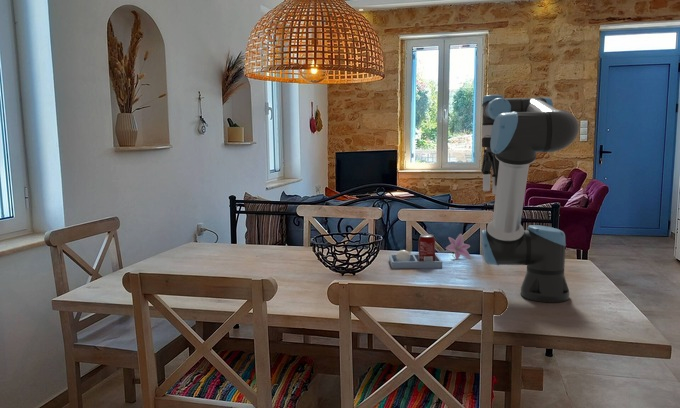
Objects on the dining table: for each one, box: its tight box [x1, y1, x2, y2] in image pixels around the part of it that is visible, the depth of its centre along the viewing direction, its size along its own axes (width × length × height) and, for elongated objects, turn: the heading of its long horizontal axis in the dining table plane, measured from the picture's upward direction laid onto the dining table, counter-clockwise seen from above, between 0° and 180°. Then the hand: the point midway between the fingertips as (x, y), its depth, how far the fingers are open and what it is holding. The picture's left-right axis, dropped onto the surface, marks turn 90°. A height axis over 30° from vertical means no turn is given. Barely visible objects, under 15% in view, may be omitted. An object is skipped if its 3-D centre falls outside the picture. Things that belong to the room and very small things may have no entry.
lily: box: [445, 233, 471, 261], centre depth 232 cm, size 12×12×10 cm
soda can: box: [418, 233, 436, 261], centre depth 219 cm, size 7×7×12 cm
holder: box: [388, 253, 443, 269], centre depth 220 cm, size 14×20×3 cm, turn 89°
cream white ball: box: [395, 249, 411, 262], centre depth 220 cm, size 6×6×6 cm
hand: (491, 192), depth 201 cm, fingers open, 13 cm apart
